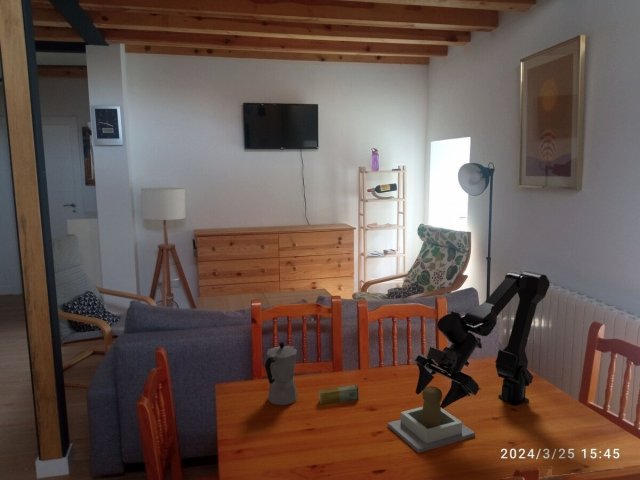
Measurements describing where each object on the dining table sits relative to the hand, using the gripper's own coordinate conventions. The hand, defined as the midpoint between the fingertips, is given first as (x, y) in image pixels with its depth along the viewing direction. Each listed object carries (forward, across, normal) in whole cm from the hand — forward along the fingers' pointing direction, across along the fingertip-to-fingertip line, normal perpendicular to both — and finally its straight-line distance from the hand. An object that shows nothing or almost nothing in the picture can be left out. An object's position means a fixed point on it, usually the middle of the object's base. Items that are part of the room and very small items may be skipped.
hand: (428, 400), depth 129 cm
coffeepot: (+24, -37, -11) cm, 46 cm away
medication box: (+14, -28, 0) cm, 31 cm away
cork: (+5, 0, +7) cm, 8 cm away
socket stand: (+6, 0, +7) cm, 9 cm away
